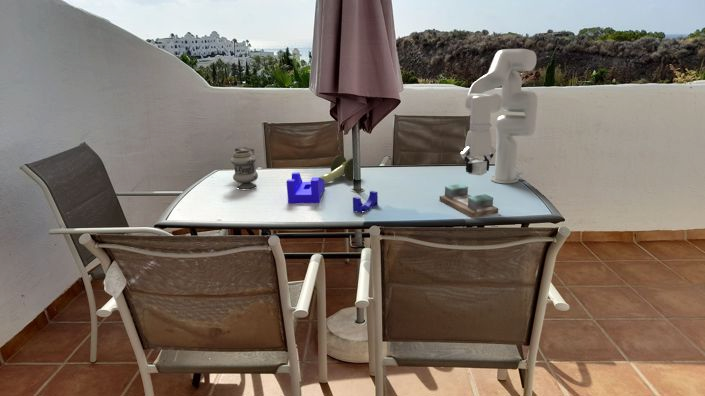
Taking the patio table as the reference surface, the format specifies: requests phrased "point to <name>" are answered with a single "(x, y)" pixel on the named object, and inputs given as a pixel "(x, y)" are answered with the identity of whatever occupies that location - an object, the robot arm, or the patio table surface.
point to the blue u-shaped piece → (370, 202)
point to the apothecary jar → (244, 169)
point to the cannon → (339, 169)
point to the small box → (479, 167)
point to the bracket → (304, 189)
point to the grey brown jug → (247, 149)
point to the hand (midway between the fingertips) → (477, 171)
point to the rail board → (466, 210)
